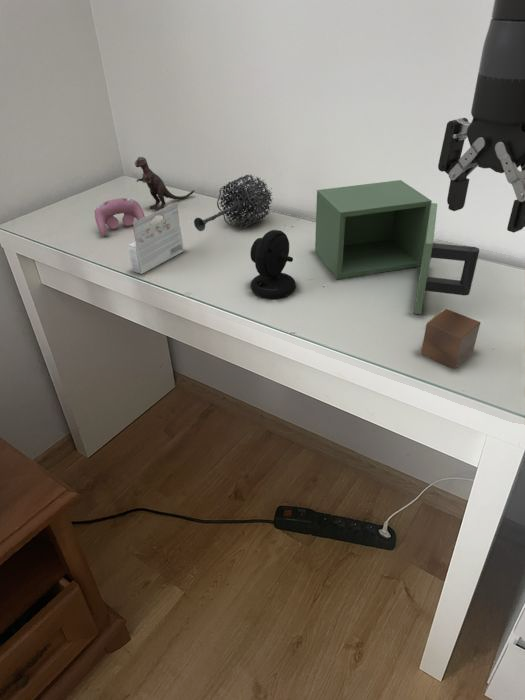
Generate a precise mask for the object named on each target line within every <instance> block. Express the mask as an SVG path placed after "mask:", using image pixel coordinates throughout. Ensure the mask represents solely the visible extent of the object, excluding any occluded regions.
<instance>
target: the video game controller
mask: <svg viewBox="0 0 525 700" xmlns="http://www.w3.org/2000/svg"><path fill="white" fill-rule="evenodd" d="M143 210H144V209H142V206H141V204H140V203H139V202H138V201H136V200H135V199H133V198H123V197H121V198H120V197H119V198H114V199H110V200H107V201H105V202H103V203H100V204H99V205H98V206H97V207H96V208H95V210H94V219H95V223H96V226H97V228H98V232H99V233H100V234H101V235H102V237H106V236H107V234H108V233H107V227H108V228H109V229H111V230H115V229H117V228H119V225H120V221H119V219H118V218H117V217H115V216H116V215H120V214H123V215H122V220H121V221H122V224H123V225H125V226H126V227H131V226H133V222H135V219H136V220H139V219H141V218H143V217H146V215H145V213H144V211H143Z"/></svg>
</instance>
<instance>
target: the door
mask: <svg viewBox="0 0 525 700" xmlns="http://www.w3.org/2000/svg"><path fill="white" fill-rule="evenodd" d="M437 211H438V203H436V202H432V203H431V206H430V212H429V219H428V225H427V231H426V237H425V243H424V249H423V255H422V262H421V266H420V269H419V277H418V283H417V290H416V297H415V303H414V304H415V305H414V311H413V314H414V315H415V314H416V315H422V311H423V305H424V299H425V293H426V292H432V293H439V294H450V295H457V296H465V297H467V296H469V295H470V293H471V289H472V285H473V280H474V276H475V272H476V267H477V262H478V259H479V254H480V248H479V247H476V246H468V245H457V244H449V243H448V244H446V243H438V242H437V243H436V242H434V241H435V240H434V239H435V230H436V220H437V213H438V212H437ZM432 259H439V260H450V261H459V262H460V261H461V262H464V263H463V267H462V272H461V277H460V279H451V278H442V277H434V276H429V271H430V264H431V260H432Z"/></svg>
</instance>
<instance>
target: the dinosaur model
mask: <svg viewBox="0 0 525 700" xmlns="http://www.w3.org/2000/svg"><path fill="white" fill-rule="evenodd" d="M134 166H135V167H136V168H141V170H142V177H141V178H137V179H136V183H138V182H142V183H143V184H144V183H145V184H146V186H147V187H148V189H149V193H150V196H151V197H152V199H154V200H155V203H154V204H153V205H149V209H150V210H154V209H155V210H156V211H155V212H157V211H159V210H161V209H163V208H165V207H166V205H167V203H166V201H165V198H166V199H168V198H169V199H172V200H174V201H176V200H177V201H178V200H185V199H187V198H189V197H190V196H191V195H193V194H194V192H195V190H192V191H191V192H189V193H187V194H186V195H182V196H179V195H174V194H173V193H172V192H171V191H170V190H168V188H167V187H166V184H165V183H164V182H165V181H164V180H163V179H162V178H161V177H160V176H159V175H158V174H157V173H155V172H154V171H153V170H152V169H151V168H150V167H149V164H148V161H147V159H146V157H144V156H138V157H137V158H136V160H134ZM159 205H160V206H159Z"/></svg>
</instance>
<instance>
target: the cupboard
mask: <svg viewBox="0 0 525 700" xmlns="http://www.w3.org/2000/svg"><path fill="white" fill-rule="evenodd" d="M431 203H433V201H432V199H430V198H429V197H427V196H426V195H424V194H423V193H421V192H419V191H418V190H417V189H415V188H414V187H412V186H410V185H409V184H407V183H406V182H404V181H403V180H401V179H398V180H390V181H381V182H373V183H372V182H371V183H365V184H357V185H356V184H355V185H348V186H340V187H338V186H337V187H331V188H324V189H317V190H316V207H315V208H316V212H315V236H314V237H315V240H314V241H315V242H314V253H315V255H316V256H317V258H318V259H319V260H320V261H321V263H323V264H324V266H325V267H326V268H327V270H328V271H329V272H330V273H331V274H332V276H333V277H334V278H335V279H336V280H341V279H349V278H353V277H361V276H368V275H373V274H379V273H387V272H391V271H392V272H393V271H399V270H405V269H412V268H419V267H421V262H422V255H423V249H424V243H425V237H426V231H427V225H428V219H429V212H430V206H431Z"/></svg>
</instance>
